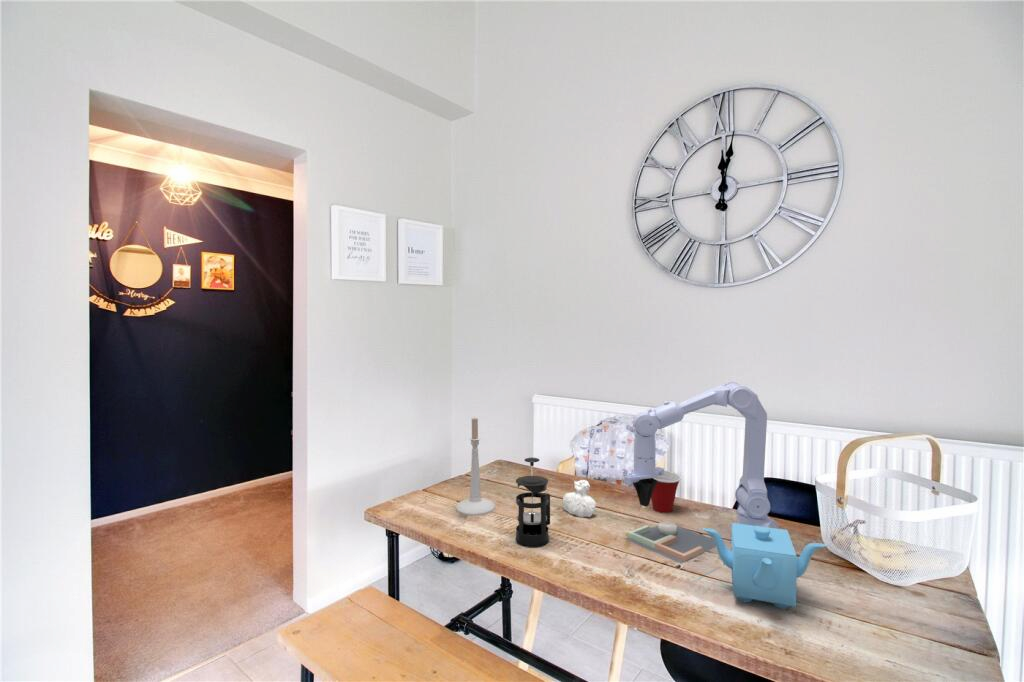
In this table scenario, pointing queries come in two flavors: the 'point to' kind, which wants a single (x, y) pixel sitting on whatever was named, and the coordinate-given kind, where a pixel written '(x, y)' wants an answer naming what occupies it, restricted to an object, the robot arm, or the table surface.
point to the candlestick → (475, 483)
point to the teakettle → (763, 563)
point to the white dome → (667, 528)
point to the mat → (678, 541)
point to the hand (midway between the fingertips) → (644, 505)
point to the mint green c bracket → (637, 536)
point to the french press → (532, 520)
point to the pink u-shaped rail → (682, 556)
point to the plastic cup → (665, 491)
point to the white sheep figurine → (579, 500)
